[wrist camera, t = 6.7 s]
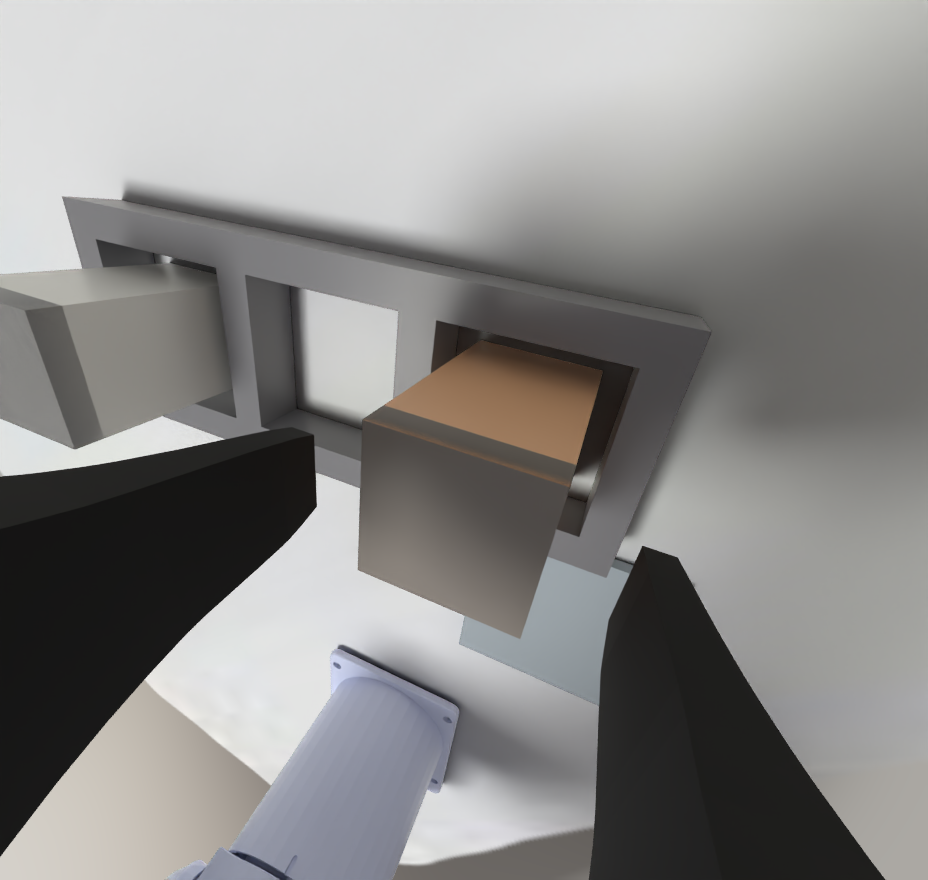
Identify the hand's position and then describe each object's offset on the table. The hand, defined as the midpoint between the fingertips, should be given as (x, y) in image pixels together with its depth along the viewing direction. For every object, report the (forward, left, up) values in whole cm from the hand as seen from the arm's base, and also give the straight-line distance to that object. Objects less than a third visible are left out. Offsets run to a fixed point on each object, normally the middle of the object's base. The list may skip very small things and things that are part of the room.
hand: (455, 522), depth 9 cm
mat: (-8, -3, -7) cm, 11 cm away
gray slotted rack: (0, +7, -7) cm, 9 cm away
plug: (0, 0, -7) cm, 6 cm away
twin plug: (0, +14, -7) cm, 15 cm away
